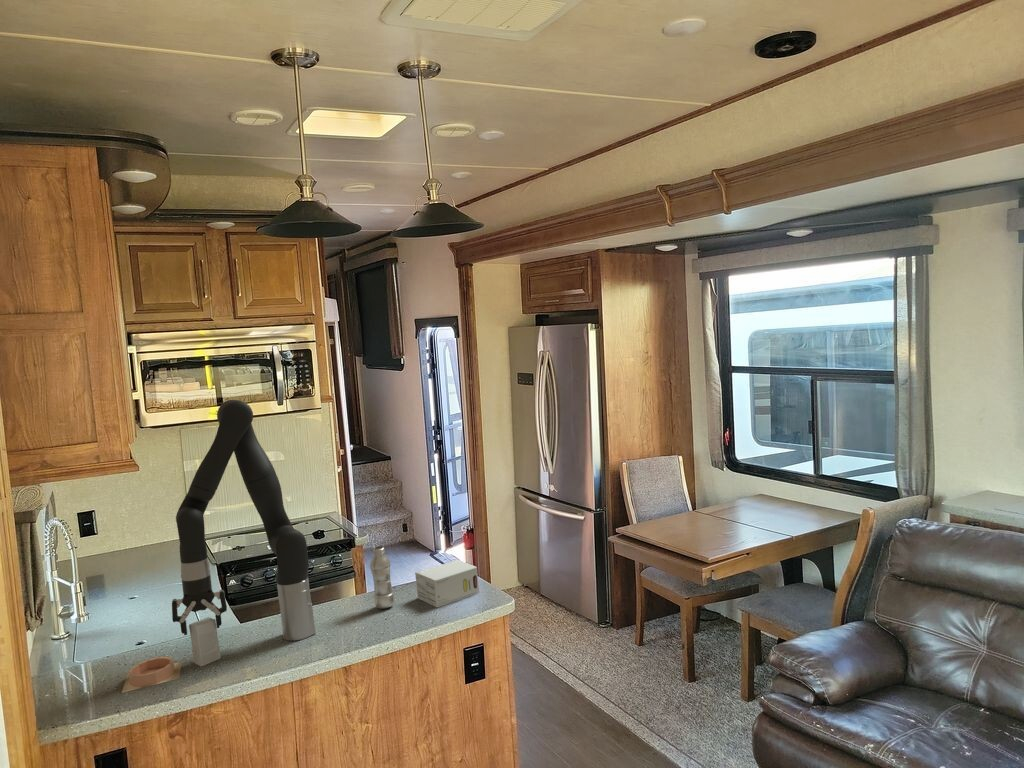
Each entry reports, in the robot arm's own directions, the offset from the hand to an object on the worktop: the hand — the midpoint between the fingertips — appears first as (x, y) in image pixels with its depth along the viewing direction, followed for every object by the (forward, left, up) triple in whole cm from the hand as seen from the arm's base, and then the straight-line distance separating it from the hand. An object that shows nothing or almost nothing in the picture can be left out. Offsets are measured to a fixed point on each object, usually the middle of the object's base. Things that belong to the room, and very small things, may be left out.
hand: (202, 630), depth 204 cm
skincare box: (0, 0, -10) cm, 10 cm away
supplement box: (-75, -7, -10) cm, 76 cm away
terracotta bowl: (+14, +2, -9) cm, 16 cm away
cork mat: (+14, +2, -9) cm, 17 cm away
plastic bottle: (-54, -10, -10) cm, 56 cm away
